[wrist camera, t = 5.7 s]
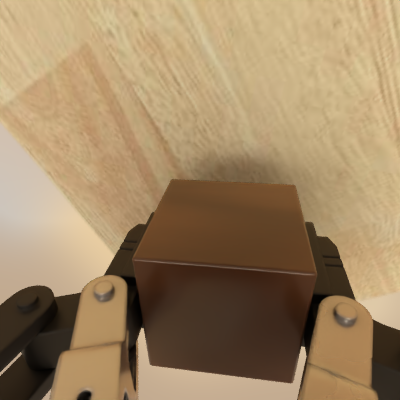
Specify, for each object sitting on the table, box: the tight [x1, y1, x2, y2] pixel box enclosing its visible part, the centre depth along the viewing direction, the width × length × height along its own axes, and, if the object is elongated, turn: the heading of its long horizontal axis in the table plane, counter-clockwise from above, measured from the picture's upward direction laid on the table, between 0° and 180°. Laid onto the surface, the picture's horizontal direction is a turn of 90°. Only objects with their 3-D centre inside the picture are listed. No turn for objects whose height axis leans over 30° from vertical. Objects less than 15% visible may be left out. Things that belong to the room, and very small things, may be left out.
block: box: [132, 179, 317, 383], centre depth 11 cm, size 4×4×4 cm
